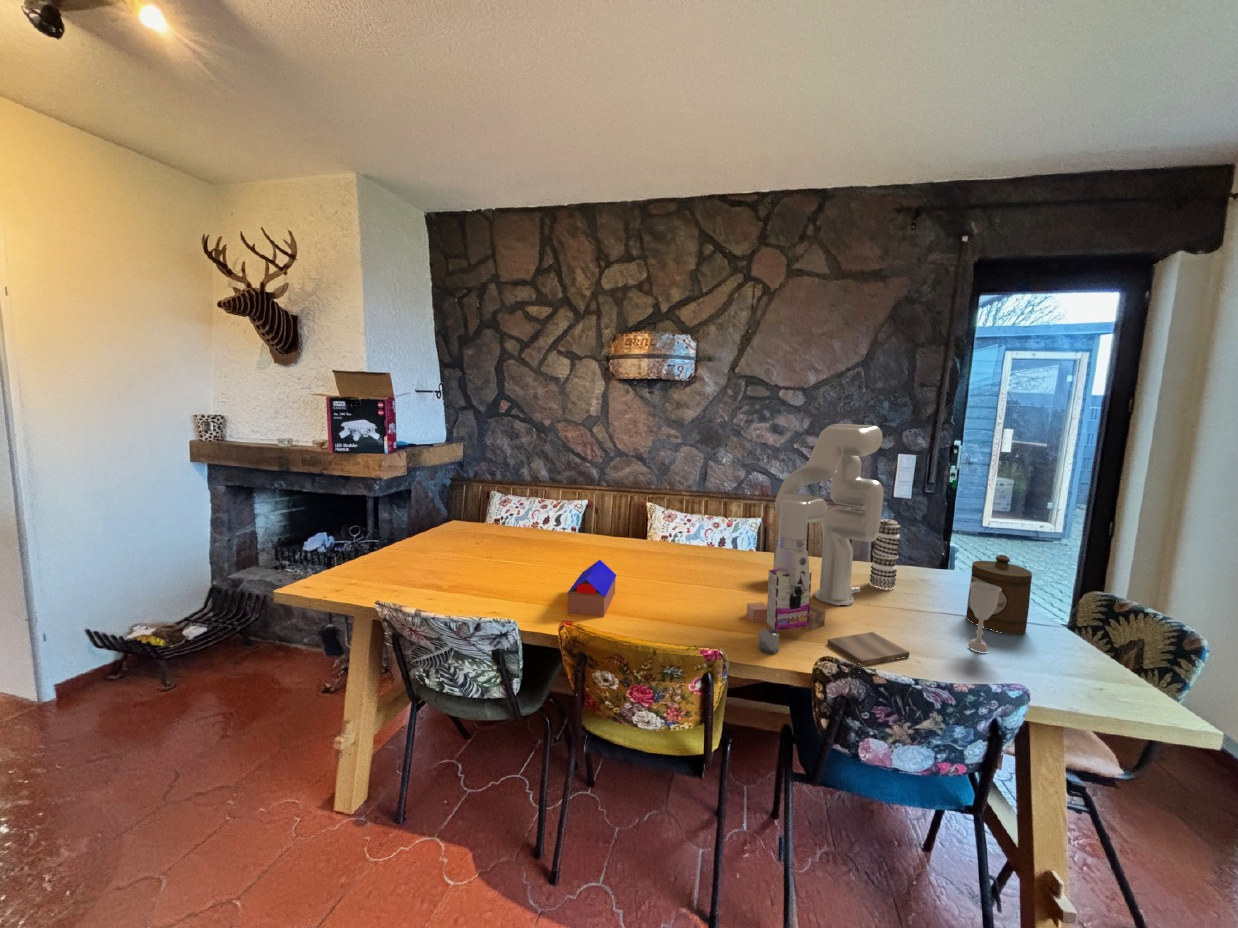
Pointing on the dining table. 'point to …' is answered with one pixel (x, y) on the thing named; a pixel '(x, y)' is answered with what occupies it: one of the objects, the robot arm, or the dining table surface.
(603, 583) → the house
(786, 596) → the candy bar box
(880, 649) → the walnut board
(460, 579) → the dining table surface
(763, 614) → the terracotta block
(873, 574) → the decorative candle
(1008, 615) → the wooden container
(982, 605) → the chalice
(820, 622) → the dark oak block
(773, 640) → the grey metal cylinder
